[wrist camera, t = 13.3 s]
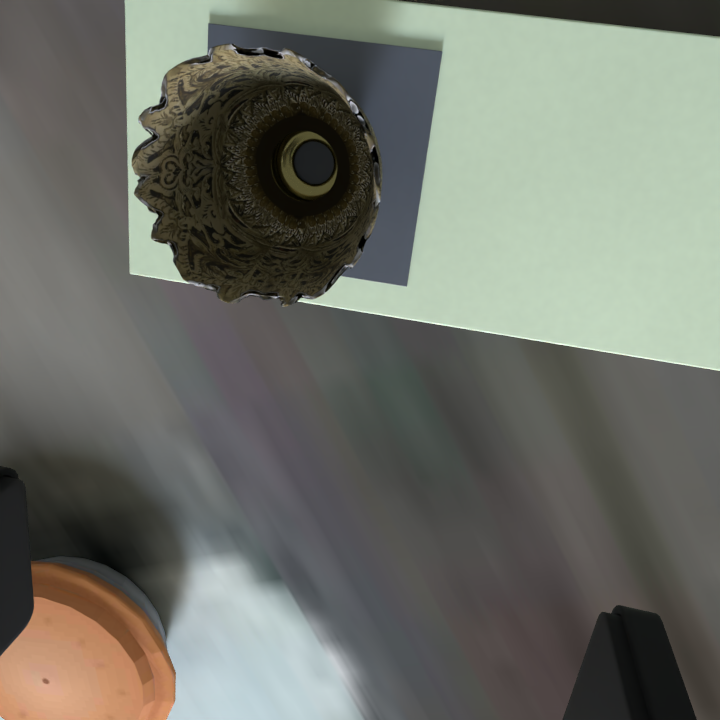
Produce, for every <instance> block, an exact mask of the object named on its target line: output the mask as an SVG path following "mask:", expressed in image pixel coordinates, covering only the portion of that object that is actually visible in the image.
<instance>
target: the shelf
mask: <svg viewBox="0 0 720 720" xmlns="http://www.w3.org/2000/svg"><path fill="white" fill-rule="evenodd" d="M125 39H126V96H127V152H128V209H129V266H130V274H135V275H141V276H147V277H153V278H159V279H165V280H171V281H177V282H183V283H188V282H186V281H185V280H183V279H182V277H181V275H180V273H179V271H178V270H177V268H176V266H175V264H174V262H173V257H174V256H173V252H172V250H171V248H170V246H169V245H167V244H162V243H158V242H155V241H153V240H152V239H151V232H152V229H153V224H154V223H155V221H156V219H157V217H158V215H157V214H155V213H152V212H150V211H149V210H148V208H147V206H146V205H144V204H143V203H142V202H140V201H139V199H138V198H137V197H136V196H135V195H134V191H135V188H136V187H137V185H138V181H137V180H138V179H139V178H140V177H139V176H137V175H135V173H134V170H133V167H132V156H133V153H134V151H135V149H136V148H137V147H138V146H139V145H140V144H141V143H142V142H144V141H145V140H147V139H148V138H150V137H152V135H150V134H149V132H147V131H146V130H145V129H144V128H143V127H142V125H141V124H140V123H139V122H138V118H139V115H141V113H142V112H143V111H144V110H145V109H147V108H148V107H150V106H156V105H158V104H159V101H160V97H161V86H162V81H163V78H164V76H165V74H166V73H167V72H168V71H169V70H170V69H172V68H173V67H175V66H176V65H178V64H180V63H182V62H184V61H186V60H189V59H191V58H196V57H201V56H205V55H208V52H209V50H210V48H212V47H214V46H218V45H223V44H235V45H236V46H238V47H241V48H246V49H250V48H254V49H257V48H267V49H271V50H275V51H282V50H283V48H288V49H290V50H293V51H295V52H297V53H299V54H301V55H302V56H304V57H305V58H307V59H309V60H310V61H311V62H313V63H314V64H315V65H317V66H319V67H320V68H321V69H323V70H324V71H326V72H327V73H328V74H330V75H331V76H332V77H334V78H335V79H336V80H337V81H338V82H339V83H340V84H341V85H342V86H343V87H344V88H345V89H346V91H347V92H348V93H349V94H350V95H351V96H352V98H353V99H354V100H355V101H356V102H357V104H358V105H359V106H360V107H361V109H362V110H363V112H364V113H365V115H366V116H367V118H368V120H369V122H370V124H371V126H372V128H373V131H374V133H375V136H376V138H377V142H378V145H379V149H380V154H381V161H382V189H381V201H380V203H379V210H378V214H377V218H376V221H375V225H374V228H373V230H372V233H371V235H370V238H369V239H367V241H366V243H365V246H364V248H363V253H362V255H361V257H360V258H359V260H358V261H357V263H356V264H355V265H354V267H353V268H351V269H349V268H348V269H347V270H346V271H345V272H344V273H343V274H342V275H341V276H340V277H339V278H338V280H337V281H336V282H335V284H334V285H333V286H332V287H331V288H330V289H329V290H328V291H327V292H326V293H325V294H323V295H322V296H320V297H318V298H316V299H313V300H311V299H305V298H300V299H299V300H298V301H299V302H305V303H311V304H317V305H323V306H329V307H335V308H341V309H347V310H354V311H360V312H366V313H372V314H378V315H384V316H390V317H396V318H402V319H408V320H414V321H421V322H427V323H433V324H439V325H445V326H451V327H457V328H463V329H469V330H475V331H481V332H487V333H494V334H500V335H506V336H512V337H518V338H524V339H530V340H536V341H542V342H548V343H554V344H560V345H567V346H573V347H579V348H585V349H591V350H597V351H603V352H609V353H615V354H621V355H627V356H633V357H640V358H646V359H652V360H658V361H664V362H670V363H676V364H682V365H688V366H694V367H700V368H706V369H713V370H719V371H720V37H719V36H710V35H701V34H692V33H683V32H674V31H666V30H657V29H648V28H639V27H630V26H621V25H612V24H603V23H594V22H585V21H577V20H568V19H559V18H550V17H541V16H532V15H523V14H514V13H505V12H496V11H488V10H479V9H470V8H461V7H452V6H443V5H434V4H425V3H416V2H407V1H399V0H125ZM148 130H149V129H148ZM149 131H150V130H149ZM150 132H151V131H150ZM151 133H152V132H151ZM152 134H153V133H152ZM294 167H295V170H296V173H297V174H298V176H299V177H300V178H301V179H302V180H303V181H305V182H307V183H309V184H320V183H323V182H324V181H326V180H327V179H328V178H329V177H330V175H331V174H332V171H333V167H334V160H333V156H332V154H331V152H330V150H329V149H328V148H327V147H326V146H325V145H323V144H321V143H319V142H307V143H305V144H303V145H302V146H301V147H300V148H299V149H298V150H297V152H296V154H295V157H294ZM189 284H190V283H189Z"/></svg>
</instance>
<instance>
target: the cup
mask: <svg viewBox="0 0 720 720" xmlns="http://www.w3.org/2000/svg"><path fill="white" fill-rule="evenodd" d="M138 122H139V123H140V124H141V125H142V127H143V128H144V129H145V130H146V131H147V132H149V134H150V135H152V137H150V138H148V139H147V140H145V141H144V142H142V143H141V144H140V145H139V146H138V147H137V148H136V149H135V151H134V153H133V156H132V167H133V170H134V173H135V175H137V176H139V177H140V178H139V179H138V180H137V181H138V185H137V187H136V188H135V191H134V195H135V196H136V197H137V198H138V199H139V201H140V202H142V203H143V204H144V205H146V206H147V208H148V210H149V211H150V212H152V213H155V214H157V215H158V217H157V219H156V221H155V223H154V224H153V229H152V232H151V239H152V240H153V241H155V242H158V243H162V244H167V245H169V246H170V248H171V250H172V252H173V256H174V257H173V262H174V264H175V266H176V268H177V270H178V271H179V273H180V275H181V277H182V279H183V280H185V281H186V282H188V283H190V284H192V285H195V286H199V287H203V288H205V289H207V290H211V291H216V292H217V297H218V298H219V299H220V300H222V301H224V302H227V303H238V302H240V301H241V300H242V299H243V298H246V297H248V296H255V297H260V298H261V299H262V300H269V299H272V298H278V299H279V300H280V301H282V303H281V306H289V305H292V304H294V303H296V302H297V301H298V300H299V299H300V298H305V299H311V300H313V299H316V298H318V297H320V296H322V295H323V294H325V293H326V292H327V291H328V290H329V289H330V288H331V287H332V286H333V285H334V284H335V282H336V281H337V280H338V278H339V277H340V276H341V275H342V274H343V273H344V272H345V271H346V270H347V269H348V268H349V269H351V268H353V267H354V265H355V264H356V263H357V261H358V260H359V258H360V257H361V255H362V253H363V248H364V246H365V243H366V241H367V239H369V238H370V235H371V233H372V230H373V228H374V225H375V221H376V218H377V214H378V210H379V203H380V201H381V189H382V161H381V154H380V149H379V145H378V142H377V138H376V136H375V133H374V131H373V128H372V126H371V124H370V122H369V120H368V118H367V116H366V115H365V113H364V112H363V110H362V109H361V107H360V106H359V105H358V104H357V102H356V101H355V100H354V99H353V98H352V96H351V95H350V94H349V93H348V92H347V91H346V89H345V88H344V87H343V86H342V85H341V84H340V83H339V82H338V81H337V80H336V79H335V78H334V77H332V76H331V75H330V74H328V73H327V72H326V71H324V70H323V69H321V68H320V67H319V66H317V65H315V64H314V63H313V62H311V61H310V60H309V59H307V58H305V57H304V56H302V55H301V54H299V53H297V52H295V51H293V50H290V49H288V48H283V50H282V51H275V50H271V49H267V48H257V49H254V48H250V49H246V48H241V47H238V46H236V45H235V44H223V45H218V46H214V47H212V48H210V50H209V52H208V55H205V56H201V57H196V58H191V59H189V60H186V61H184V62H182V63H180V64H178V65H176V66H175V67H173V68H172V69H170V70H169V71H168V72H167V73H166V74H165V76H164V78H163V81H162V86H161V97H160V101H159V104H158V105H156V106H150V107H148V108H147V109H145V110H144V111H143V112H142V113H141V115H139V118H138ZM148 129H149V130H150V131H151V132H152V133H153V134H152V133H151V132H150V131H149V130H148ZM307 142H319V143H321V144H323V145H325V146H326V147H327V148H328V149H329V150H330V152H331V154H332V156H333V160H334V167H333V171H332V174H331V175H330V177H329V178H328V179H327V180H326V181H324V182H323V183H320V184H309V183H307V182H305V181H303V180H302V179H301V178H300V177H299V176H298V174H297V173H296V170H295V167H294V157H295V154H296V152H297V150H298V149H299V148H300V147H301V146H302V145H303V144H305V143H307Z"/></svg>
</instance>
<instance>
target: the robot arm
mask: <svg viewBox="0 0 720 720" xmlns="http://www.w3.org/2000/svg"><path fill="white" fill-rule="evenodd" d="M33 610H34V596H33V583H32V570H31V557H30V543H29V530H28V517H27V503H26V490H25V485H24V483H23V481H21V480H19V478H18V474H17V473H16V471H15V470H13V469H11V468H7V467H2V466H0V656H1V655H2V654H3V653H4V652H5V650H6V649H7V648H8V647H9V646H10V645H11V644H12V643H13V641H14V640H15V639H16V638H17V637H18V636H19V635H20V634H21V633H22V631H23V630H24V629H25V628H26V626H27V625H28V623H29V621H30V619H31V617H32V614H33ZM563 720H697V719H696V716H695V714H694V711H693V708H692V705H691V702H690V699H689V696H688V694H687V691H686V688H685V685H684V682H683V679H682V677H681V674H680V671H679V668H678V665H677V662H676V659H675V657H674V654H673V651H672V648H671V645H670V642H669V639H668V637H667V634H666V631H665V628H664V625H663V622H662V620H661V618H660V616H659V615H657V614H656V613H652V612H647V611H643V610H638V609H634V608H629V607H625V606H620V605H618V606H616V607H615V608H614V609H613V611H612V613H611V614H610V613H606V612H601V614H600V615H599V617H598V619H597V622H596V625H595V628H594V631H593V633H592V636H591V639H590V642H589V645H588V648H587V651H586V654H585V657H584V659H583V662H582V665H581V668H580V671H579V674H578V677H577V680H576V683H575V685H574V688H573V691H572V694H571V697H570V700H569V703H568V706H567V708H566V711H565V714H564V717H563Z"/></svg>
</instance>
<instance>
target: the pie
mask: <svg viewBox="0 0 720 720" xmlns="http://www.w3.org/2000/svg"><path fill="white" fill-rule="evenodd" d="M31 570H32V583H33V596H34V610H33V614H32V617H31V619H30V621H29V623H28V625H27V626H26V628H25V629H24V630H23V631H22V633H21V634H20V635H19V636H18V637H17V638H16V639H15V640H14V641H13V643H12V644H11V645H10V646H9V647H8V648H7V649H6V650H5V652H4V653H3V654H2V655H1V656H0V716H1V717H2V718H3V719H4V720H166V719H167V717H168V715H169V713H170V710H171V708H172V706H173V704H174V702H175V680H176V672H175V670H174V667H173V664H172V662H171V659H170V657H169V654H168V652H167V645H166V638H165V631H164V629H163V626H162V623H161V620H160V617H159V614H158V612H157V610H156V609H155V608H154V606H153V605H152V603H151V602H150V600H149V599H148V597H147V596H146V595H145V593H144V592H143V591H141V590H140V589H139V588H138V587H137V586H136V585H135V584H134V583H133V582H132V581H130V580H129V579H128V578H127V577H125V576H124V575H122V574H120V573H119V572H117V571H115V570H113V569H112V568H110V567H108V566H106V565H104V564H101V563H97V562H94V561H91V560H88V559H85V558H79V557H66V556H57V557H52V558H47V559H42V560H37V561H31Z"/></svg>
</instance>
